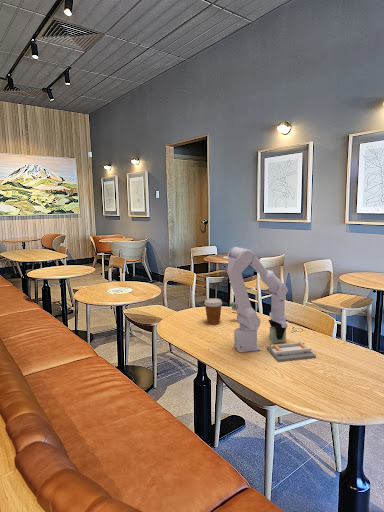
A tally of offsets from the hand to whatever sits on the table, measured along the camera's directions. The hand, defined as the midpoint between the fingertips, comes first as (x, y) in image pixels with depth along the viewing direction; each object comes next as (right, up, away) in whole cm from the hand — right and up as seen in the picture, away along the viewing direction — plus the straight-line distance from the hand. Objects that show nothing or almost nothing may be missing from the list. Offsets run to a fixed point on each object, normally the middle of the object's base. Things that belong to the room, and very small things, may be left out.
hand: (277, 337), depth 151 cm
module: (0, -2, 0) cm, 2 cm away
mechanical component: (-13, +2, +26) cm, 29 cm away
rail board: (+2, -4, -12) cm, 13 cm away
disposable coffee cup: (-27, +1, +25) cm, 37 cm away
